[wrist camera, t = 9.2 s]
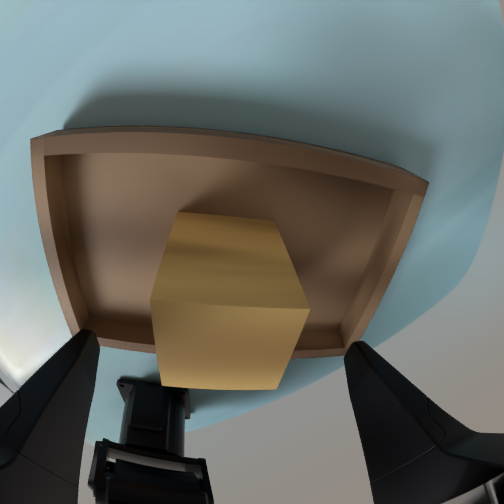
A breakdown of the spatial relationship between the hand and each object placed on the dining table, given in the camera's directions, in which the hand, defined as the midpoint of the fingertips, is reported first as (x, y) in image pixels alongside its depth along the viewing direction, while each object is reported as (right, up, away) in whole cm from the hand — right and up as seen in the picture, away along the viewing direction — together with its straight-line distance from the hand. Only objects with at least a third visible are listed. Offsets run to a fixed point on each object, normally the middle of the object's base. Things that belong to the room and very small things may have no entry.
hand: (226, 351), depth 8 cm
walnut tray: (-1, +3, +6) cm, 7 cm away
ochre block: (-1, +3, +5) cm, 6 cm away
